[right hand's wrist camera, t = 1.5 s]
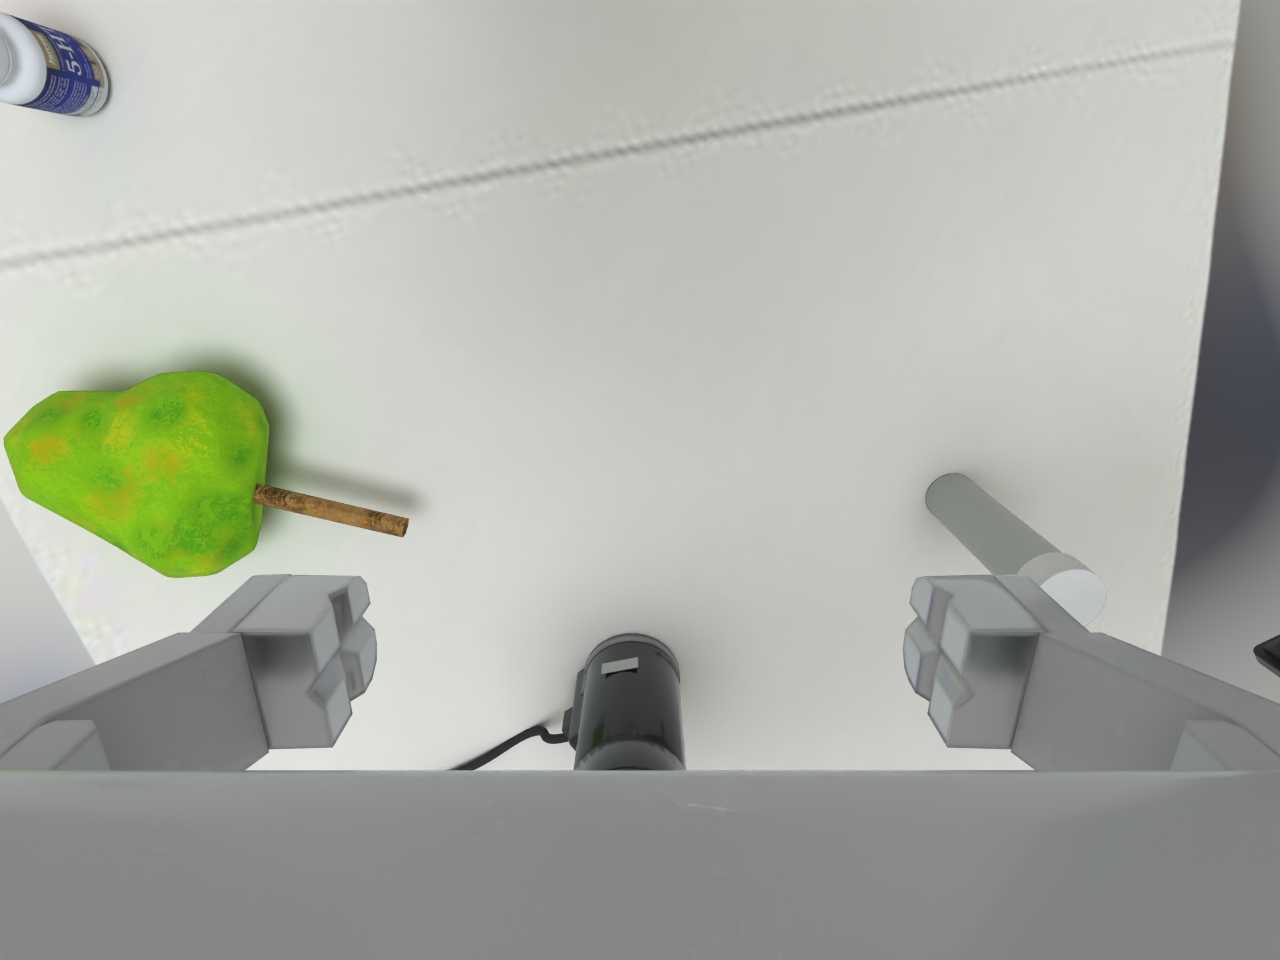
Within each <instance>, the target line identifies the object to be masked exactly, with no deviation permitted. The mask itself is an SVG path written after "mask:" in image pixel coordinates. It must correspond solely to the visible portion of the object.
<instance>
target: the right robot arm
mask: <svg viewBox="0 0 1280 960" xmlns="http://www.w3.org/2000/svg"><path fill="white" fill-rule="evenodd" d="M369 605H370V598H369V593H368V588H367V583H366V582H365V581H364V580H363V579H362V577H361V576H326V575H291V574H277V575H256V576H252V577H251V578H250V579H248V580H247V581H246V582H245V583H244V584H243V585H242V586H241V587H240V588H239V589H237V590H236V591H235V592H234V593H233V594H232V595H231V596H230V597H229V598H227V599H226V600H225V601H224V602H223V603H222V604H221V605H220V606H219V607H217V608H216V609H215V610H214V611H213V612H212V613H211V614H210V615H209V616H208V617H206V618H205V619H204V620H203V621H202V622H201V623H200V624H199V625H198V626H196V627H195V628H194V629H193V630H192V631H191V632H190V633H176V634H174V635H171V636H169V637H166V638H164V639H161V640H159V641H156V642H154V643H151V644H149V645H146V646H144V647H141V648H139V649H136V650H134V651H131V652H129V653H126V654H124V655H121V656H119V657H116V658H114V659H111V660H109V661H106V662H104V663H101V664H99V665H96V666H94V667H91V668H89V669H86V670H84V671H81V672H79V673H76V674H74V675H71V676H69V677H66V678H64V679H61V680H59V681H56V682H54V683H51V684H49V685H46V686H44V687H41V688H39V689H36V690H34V691H31V692H29V693H26V694H24V695H21V696H19V697H16V698H14V699H11V700H8V701H6V702H4V703H1V704H0V960H1280V704H1278V703H1276V702H1274V701H1271V700H1269V699H1266V698H1264V697H1261V696H1259V695H1256V694H1254V693H1251V692H1249V691H1246V690H1244V689H1241V688H1238V687H1236V686H1234V685H1231V684H1229V683H1226V682H1224V681H1221V680H1219V679H1216V678H1214V677H1211V676H1209V675H1206V674H1204V673H1201V672H1199V671H1196V670H1194V669H1191V668H1189V667H1186V666H1184V665H1181V664H1179V663H1176V662H1174V661H1171V660H1169V659H1166V658H1164V657H1161V656H1159V655H1156V654H1154V653H1151V652H1149V651H1146V650H1144V649H1141V648H1139V647H1136V646H1134V645H1131V644H1129V643H1126V642H1124V641H1121V640H1119V639H1116V638H1114V637H1111V636H1109V635H1106V634H1104V633H1090V632H1089V631H1088V630H1087V629H1086V628H1085V627H1084V626H1083V625H1081V624H1080V623H1079V622H1078V621H1077V620H1076V619H1075V618H1074V617H1073V616H1071V615H1070V614H1069V613H1068V612H1067V611H1066V610H1065V609H1064V608H1063V607H1062V606H1060V605H1059V604H1058V603H1057V602H1056V601H1055V600H1054V599H1053V598H1052V597H1051V596H1049V595H1048V594H1047V593H1046V592H1045V591H1044V590H1043V589H1042V588H1041V587H1039V586H1038V585H1037V584H1036V583H1035V582H1034V581H1033V580H1032V579H1031V578H1030V577H1028V576H1025V575H1021V574H1008V575H958V576H924V577H918V578H916V581H915V583H914V585H913V587H912V592H911V597H910V605H911V606H912V608H913V609H914V611H915V613H916V614H917V616H918V617H917V618H916V619H915V620H914V621H913V622H912V623H911V624H910V625H909V626H908V627H907V628H906V629H905V636H904V644H903V657H904V667H905V671H906V674H907V677H908V680H909V682H910V684H911V686H912V688H913V689H914V691H915V693H917V694H918V695H920V696H921V697H923V698H925V699H926V700H928V701H930V703H929V709H928V715H929V717H930V719H931V720H932V722H933V724H934V725H935V727H936V729H937V731H938V732H939V734H940V736H941V737H942V739H943V741H944V742H945V744H946V746H947V747H948V748H985V749H1011V752H1012V753H1013V754H1014V755H1016V756H1017V757H1018V758H1020V759H1021V760H1022V761H1024V762H1025V763H1026V764H1028V765H1029V766H1031V767H1032V768H1033V769H1035V770H246V769H247V768H248V767H250V766H251V765H252V764H254V763H255V762H256V761H258V760H259V759H260V758H262V757H263V756H265V755H266V754H267V753H269V750H268V749H294V748H330V747H333V746H334V744H335V742H336V741H337V739H338V737H339V736H340V734H341V732H342V731H343V729H344V727H345V726H346V724H347V722H348V720H349V719H350V717H351V715H352V709H351V703H350V702H351V701H352V700H354V699H355V698H357V697H359V696H360V695H362V694H363V693H365V691H366V689H367V688H368V686H369V684H370V682H371V680H372V678H373V673H374V669H375V665H376V661H377V641H376V635H375V629H374V628H373V627H372V626H371V625H370V624H369V623H368V622H367V621H366V620H365V619H364V618H363V617H362V616H363V614H364V613H365V611H366V609H367V608H368V606H369Z"/></svg>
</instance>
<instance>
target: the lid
mask: <svg viewBox="0 0 1280 960" xmlns="http://www.w3.org/2000/svg"><path fill="white" fill-rule="evenodd" d="M1017 574H1021V575H1025V576H1028V577H1030V578H1031V579H1032V580H1033V581H1034V582H1035V583H1036V584H1037V585H1038V586H1039V587H1041V588H1042V589H1043V590H1044V591H1045V592H1046V593H1047V594H1048V595H1049V596H1051V597H1052V598H1053V599H1054V600H1055V601H1056V602H1057V603H1058V604H1059V605H1060V606H1062V607H1063V608H1064V609H1065V610H1066V611H1067V612H1068V613H1069V614H1070V615H1071V616H1073V617H1074V618H1075V619H1076V620H1077V621H1078V622H1079V623H1080V624H1081V625H1083V626H1084V627H1085V626H1087V625H1088V624H1090V623H1091V622H1092V621H1093V620H1094V619H1095V618H1096V617H1097V616H1098V615H1099V614H1100V612H1101V611H1102V609H1103V607H1104V605H1105V602H1106V588H1105V585H1104V583H1103V581H1102V580H1101V578H1100V577H1099V576H1097V575H1096V574H1095V573H1094V572H1092V571H1091V570H1090V569H1088V568H1087V567H1086V566H1085V565H1083V564H1082V563H1081V562H1079V561H1078V560H1077V559H1076V558H1074V557H1073V556H1071V555H1068V554H1065V553H1060V552H1051V553H1045V554H1042V555H1039V556H1037V557H1035V558H1033V559H1031V560H1030V561H1028V562H1027V563H1026V564H1025V565H1024V566H1023V567H1022V568H1021V569H1020V570H1019V572H1018V573H1017Z"/></svg>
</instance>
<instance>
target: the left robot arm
mask: <svg viewBox="0 0 1280 960" xmlns="http://www.w3.org/2000/svg"><path fill="white" fill-rule="evenodd" d="M1253 651H1254V654H1255V656H1256V658H1257V660H1258V662H1259V663H1260V664H1262V665H1263V666H1265V667H1266V668H1267V669H1269V670H1270V671H1272V672H1273V673H1274V674H1276V675H1277V676H1278V677H1280V635H1278V636H1276V637H1274V638H1271V639H1269V640H1267V641H1265V642H1263V643H1261V644H1259V645H1257V646H1255V647H1254V649H1253ZM679 684H680V676H679V667H678V663H677V661H676V659H675V657H674V655H673V654H672V652H671V651H670V650H669V649H668V648H667V647H666V646H664V645H663V644H662V643H660V642H659V641H657V640H655V639H652V638H650V637H647V636H642V635H621V636H617V637H614V638H611V639H609V640H607V641H605V642H603V643H602V644H600V645H599V646H598V647H597V648H596V649H595V650H594V651H593V652H592V653H591V655H590V656H589V658H588V660H587V663H586V666H585V669H584V670H583V671H581V672H580V673H578V675H577V682H576V689H575V696H574V703H573V707H572V708H570V709H568V710H566V711H565V713H564V720H563V726H562V732H563V733H562V734H549V732H548V731H547V729H546V728H544V727H542V726H538V727H534V728H531V729H528V730H525V731H523V732H521V733H520V734H518V735H516V736H514V737H512V738H511V739H509V740H507V741H505V742H504V743H502V744H501V745H499V746H498V747H496V748H495V749H493V750H492V751H490V752H489V753H487V754H485V755H484V756H482V757H480V758H478V759H477V760H475V761H473V762H471V763H469V764H467V765H464V766H462V767H460V768H458V769H456V770H475V769H477V768H479V767H481V766H483V765H485V764H486V763H488V762H490V761H491V760H493V759H495V758H496V757H498V756H499V755H501V754H502V753H504V752H505V751H507V750H508V749H510V748H511V747H513V746H515V745H516V744H518V743H520V742H521V741H523V740H525V739H527V738H530V737H533V736H537V735H540V736H541V738H542V740H543V741H545V742H546V743H550V744H557V743H563V742H568V741H569V743H570V745H571V747H572V748H573V749H574V750H575V751H576V755H575V764H574V770H686V759H685V747H684V735H683V724H682V712H681V700H680V688H679Z"/></svg>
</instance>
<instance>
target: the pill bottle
mask: <svg viewBox="0 0 1280 960" xmlns="http://www.w3.org/2000/svg"><path fill="white" fill-rule="evenodd" d="M107 94H108V79H107V75H106V71H105V69H104V67H103V64H102V63H101V61H100V59H99V58H98V56H97V55H96V54H95V52H94V51H93V50H92V49H91V48H90V47H89V46H88V45H86V44H85V43H84V42H82V41H81V40H79V39H77V38H75V37H73V36H70V35H68V34H65V33H62V32H59V31H56V30H53V29H50V28H47V27H44V26H41V25H38V24H35V23H32V22H29V21H26V20H23V19H20V18H17V17H14V16H11V15H8V14H5V13H2V12H0V101H1V102H4V103H8V104H12V105H18V106H23V107H28V108H33V109H38V110H43V111H48V112H54V113H59V114H64V115H69V116H77V117H84V116H89V115H91V114H94V113H95V112H97V111H98V110H99V109H100V108H101V107H102V106H103V104H104V103H105V101H106V98H107Z"/></svg>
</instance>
